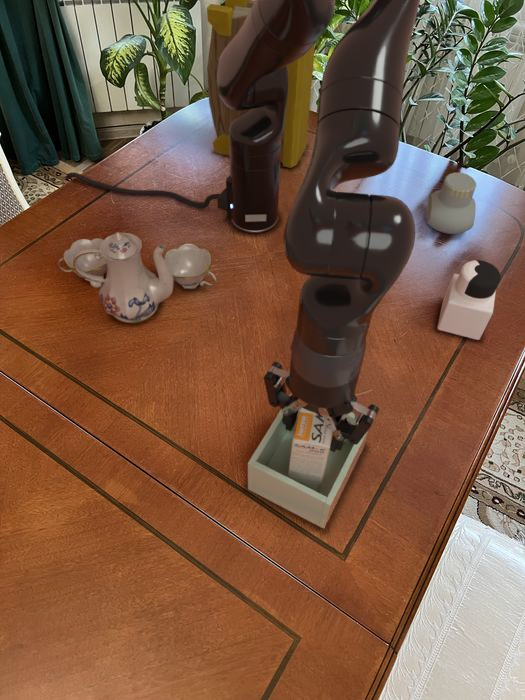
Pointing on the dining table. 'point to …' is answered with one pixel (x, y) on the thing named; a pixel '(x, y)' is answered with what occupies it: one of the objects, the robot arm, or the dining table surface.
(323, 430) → the supplement box
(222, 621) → the dining table surface
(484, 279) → the bust figurine
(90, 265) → the chinaware
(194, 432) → the dining table surface
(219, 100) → the decorative book
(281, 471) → the holder
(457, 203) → the air freshener
